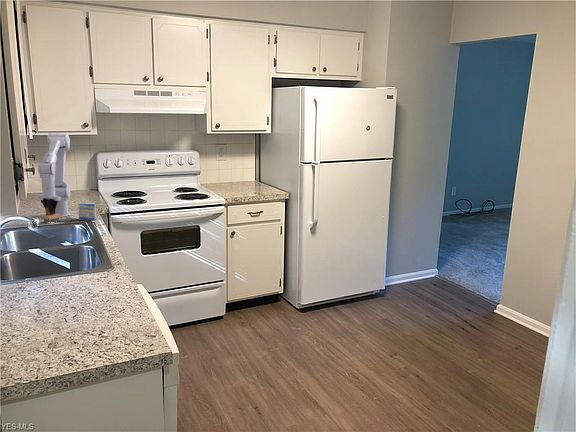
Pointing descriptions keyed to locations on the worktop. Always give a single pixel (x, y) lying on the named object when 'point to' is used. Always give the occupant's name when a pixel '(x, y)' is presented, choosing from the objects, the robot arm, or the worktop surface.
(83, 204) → the medicine box
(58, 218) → the storage box
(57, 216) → the lid
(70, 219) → the rubber mat
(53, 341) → the worktop surface
